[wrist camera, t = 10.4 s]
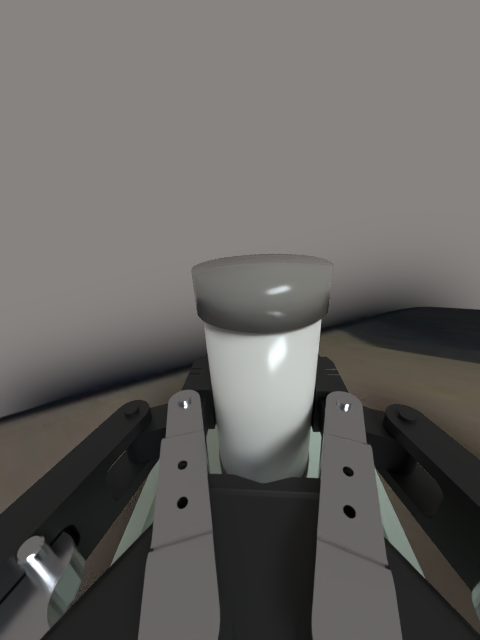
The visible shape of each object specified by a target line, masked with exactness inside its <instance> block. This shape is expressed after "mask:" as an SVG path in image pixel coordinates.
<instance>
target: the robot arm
mask: <svg viewBox="0 0 480 640" xmlns="http://www.w3.org/2000/svg"><path fill="white" fill-rule="evenodd" d="M215 426H216V418H215V409H214V401H213V393H212V385H211V377H210V369H209V361H208V353H207V355H206V357H200V358H198V359H197V360H196V361H195V362H194V364H193V366H192V368H191V370H190V373H189V375H188V377H187V379H186V381H185V384H184V386H183V388H182V390H181V391H180V392H177V393H176V394H174V395H173V396H172V397H171V398H170V399H169V402H168V404H165V405H161V406H157V407H152V408H150V407H149V404H148V403H147V402H146V401H143V400H135V401H131V402H128V403H126V404H124V405H123V406H121V407H120V408H119V409H118V410H117V411H116V412H115V413H113V414H112V415H111V416H110V417H109V418H108V419H107V420H106V421H104V422H103V423H102V424H101V425H100V426H99V427H98V428H97V429H95V430H94V431H93V432H92V433H91V434H90V435H89V436H88V437H87V438H85V439H84V440H83V441H82V442H81V443H80V444H79V445H78V446H76V447H75V448H74V449H73V450H72V451H71V452H70V453H69V454H67V455H66V456H65V457H64V458H63V459H62V460H61V461H60V462H59V463H57V464H56V465H55V466H54V467H53V468H52V469H51V470H50V471H48V472H47V473H46V474H45V475H44V476H43V477H42V478H41V479H39V480H38V481H37V482H36V483H35V484H34V485H33V486H32V487H30V488H29V489H28V490H27V491H26V492H25V493H24V494H23V495H22V496H20V497H19V498H18V499H17V500H16V501H15V502H14V503H13V504H11V505H10V506H9V507H8V508H7V509H6V510H5V511H4V512H2V513H1V514H0V640H480V635H479V634H478V633H477V632H476V631H475V630H474V629H473V628H472V626H471V625H470V624H469V623H468V622H467V621H466V620H465V619H464V618H463V617H462V616H461V615H460V614H459V613H458V612H457V611H456V610H455V609H454V608H453V607H452V606H451V605H450V604H449V603H448V602H447V601H446V600H445V599H444V598H443V597H442V595H441V594H440V593H439V592H438V591H437V590H436V589H435V588H434V587H433V586H432V585H431V584H430V583H429V582H428V581H427V580H426V579H425V578H424V577H423V576H422V575H421V574H420V573H419V572H418V571H417V570H416V569H415V568H414V567H413V566H412V564H411V563H410V562H409V561H408V560H407V559H406V558H405V557H404V556H403V555H402V554H401V553H400V552H399V551H398V550H397V549H396V548H395V547H394V546H393V545H392V544H391V543H390V542H389V541H388V540H387V539H386V538H385V537H384V534H383V526H382V519H381V512H380V504H379V497H378V489H377V482H376V474H375V467H376V469H377V470H378V472H379V473H380V474H381V475H382V477H383V478H384V479H385V481H386V482H387V483H388V484H389V486H390V487H391V488H392V490H393V491H394V492H395V493H396V495H397V496H398V497H399V499H400V500H401V501H402V502H403V504H404V505H405V506H406V508H407V509H408V510H409V511H410V513H411V514H412V515H413V517H414V518H415V519H416V520H417V522H418V523H419V524H420V526H421V527H422V528H423V529H424V531H425V532H426V533H427V535H428V536H429V537H430V538H431V540H432V541H433V542H434V544H435V545H436V546H437V547H438V549H439V550H440V551H441V553H442V554H443V555H444V557H445V558H446V559H447V560H448V562H449V563H450V564H451V566H452V567H453V568H454V569H455V571H456V572H457V573H458V575H459V576H460V577H461V578H462V580H463V581H464V582H465V584H466V585H467V586H468V587H469V589H470V590H471V591H472V602H473V605H474V609H475V611H476V614H477V616H478V618H479V620H480V460H479V459H477V458H476V457H475V456H474V455H472V454H471V453H470V452H469V451H467V450H466V449H465V448H464V447H462V446H461V445H460V444H459V443H458V442H456V441H455V440H454V439H453V438H451V437H450V436H449V435H448V434H446V433H445V432H444V431H443V430H441V429H440V428H439V427H438V426H437V425H435V424H434V423H433V422H432V421H430V420H429V419H428V418H427V417H425V416H424V415H423V414H422V413H420V412H419V411H417V410H415V409H413V408H411V407H409V406H405V405H400V404H394V405H390V406H388V407H387V408H386V411H385V412H382V411H378V410H374V409H370V408H367V407H364V406H362V403H361V402H360V400H359V399H358V398H357V397H355V396H354V395H352V394H350V393H349V392H348V390H347V388H346V387H345V385H344V383H343V381H342V379H341V377H340V375H339V373H338V371H337V370H336V367H335V365H334V363H333V362H332V361H331V360H330V359H328V358H327V357H320V356H319V354H318V360H317V370H316V381H315V391H314V402H313V412H312V423H311V426H312V430H313V432H320V434H321V437H322V438H321V446H320V458H319V470H318V478H306V477H290V478H286V479H281V480H277V481H273V482H268V483H259V482H256V481H253V480H250V479H247V478H244V477H240V476H237V475H234V474H210V466H209V457H208V448H207V439H206V437H207V433H208V429H215ZM125 450H126V452H125V453H124V454H123V455H122V456H121V457H120V459H119V460H118V461H117V462H116V463H115V464H114V465H113V466H112V468H111V469H110V470H109V468H110V466H111V465H112V464H113V463H114V462H115V461H116V460H117V459H118V457H119V456H120V455H121V454H122V453H123V452H124V451H125ZM159 458H160V459H159ZM158 460H159V470H158V480H157V491H156V501H155V512H154V522H153V523H152V524H151V525H150V526H149V527H148V528H147V529H146V530H145V531H144V532H143V533H142V534H141V535H140V536H139V537H138V538H137V539H136V540H135V541H134V543H133V544H132V545H131V546H130V547H129V548H128V549H127V550H126V551H125V552H124V553H123V554H122V555H121V556H120V557H119V558H118V559H117V560H116V561H115V562H114V563H113V564H112V565H111V566H110V567H109V568H108V569H107V570H106V571H105V572H104V573H103V575H102V576H101V577H100V578H99V579H98V580H97V581H96V582H95V583H94V584H93V585H92V586H91V587H90V588H89V589H88V590H87V591H86V592H85V593H84V594H83V595H82V596H81V597H80V598H79V599H78V600H77V601H76V602H75V603H74V604H73V606H72V607H71V608H70V609H69V610H68V611H67V609H68V607H69V606H70V605H71V604H72V602H73V601H74V599H75V598H76V595H77V593H78V588H79V586H80V584H81V581H82V579H83V576H84V572H85V561H86V559H87V558H88V557H89V555H90V554H91V553H92V551H93V550H94V548H95V547H96V546H97V544H98V543H99V542H100V540H101V539H102V537H103V536H104V535H105V533H106V532H107V531H108V529H109V528H110V526H111V525H112V524H113V522H114V521H115V520H116V518H117V517H118V515H119V514H120V513H121V511H122V510H123V508H124V507H125V506H126V504H127V503H128V502H129V500H130V499H131V497H132V496H133V495H134V493H135V492H136V491H137V489H138V488H139V486H140V485H141V484H142V482H143V481H144V480H145V478H146V477H147V475H148V474H149V473H150V471H151V470H152V469H153V467H154V466H155V464H156V463H157V462H158ZM417 462H418V463H419V464H420V465H421V466H422V467H423V468H424V469H425V470H426V471H427V472H428V473H429V474H430V475H431V476H432V477H433V478H434V479H435V480H436V481H437V483H438V484H439V485H438V484H437V483H436V482H435V481H434V480H433V479H432V478H431V477H430V476H429V475H428V474H427V473H426V472H425V471H424V470H423V469H422V468H421V467H420V466H419V465H418V464H417ZM374 465H375V467H374ZM108 470H109V471H108ZM107 471H108V472H107ZM439 486H440V487H441V488H440V487H439ZM66 611H67V612H66Z"/></svg>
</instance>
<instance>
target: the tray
mask: <svg viewBox="0 0 480 640" xmlns="http://www.w3.org/2000/svg"><path fill="white" fill-rule="evenodd" d="M321 438H322V437H321V434H320V432H313V430H312V426H311V433H310V444H309V466H308V476H307V478H318V470H319V458H320V446H321ZM206 439H207V448H208V457H209V466H210V474H221V467H220V459H219V442H218V434H217V426H215V429H208V433H207V437H206ZM159 459H160V458H159ZM158 470H159V460H158V462H157V463H156V464H155V466H154V467H153V469H152V470H151V471H150V473H149V476H148V478H147V480H146V483H145V485H144V487H143V490H142V492H141V494H140V497H139V499H138V502H137V504H136V506H135V509H134V511H133V513H132V516H131V518H130V520H129V523H128V525H127V527H126V530H125V532H124V535H123V537H122V539H121V542H120V544H119V546H118V549H117V551H116V553H115V556H114V558H113V561H112V563H111V565H112V564H113V563H114V562H115V561H116V560H117V559H118V558H119V557H120V556H121V555H122V554H123V553H124V552H125V551H126V550H127V549H128V548H129V547H130V546H131V545H132V544H133V543H134V541H135V540H136V539H137V538H138V537H139V536H140V535H141V534H142V533H143V532H144V531H145V530H146V529H147V528H148V527H149V526H150V525H151V524H152V523H153V522H154V512H155V501H156V491H157V480H158ZM375 474H376V482H377V489H378V497H379V504H380V512H381V519H382V526H383V534H384V537H385V538H386V539H387V540H388V541H389V542H390V543H391V544H392V545H393V546H394V547H395V548H396V549H397V550H398V551H399V552H400V553H401V554H402V555H403V556H404V557H405V558H406V559H407V560H408V561H409V562H410V563H411V564H412V566H413V567H414V568H415V569H416V570H417V571H418V572H419V573H420V574H421V575H422V576H423V577H424V578H425V576H424V574H423V572H422V570H421V568H420V566H419V563H418V561H417V559H416V557H415V555H414V553H413V550H412V548H411V546H410V544H409V542H408V539H407V537H406V535H405V533H404V531H403V529H402V526H401V524H400V522H399V520H398V518H397V515H396V513H395V511H394V509H393V507H392V505H391V502H390V500H389V498H388V496H387V494H386V491H385V489H384V487H383V485H382V483H381V481H380V478H379V476H378V474H377V472H376V470H375ZM111 565H110V566H111Z"/></svg>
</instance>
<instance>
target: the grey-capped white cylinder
mask: <svg viewBox="0 0 480 640" xmlns="http://www.w3.org/2000/svg"><path fill="white" fill-rule="evenodd" d="M191 271H192V279H193V286H194V294H195V301H196V309H197V314H198V316H199V317H200V318H201V319H202V320H203V321H204V327H205V336H206V344H207V352H208V361H209V369H210V377H211V385H212V393H213V401H214V409H215V418H216V426H217V434H218V442H219V459H220V467H221V474H234V475H237V476H240V477H244V478H247V479H250V480H253V481H256V482H259V483H268V482H273V481H277V480H281V479H286V478H290V477H306V478H307V476H308V466H309V444H310V433H311V423H312V412H313V402H314V391H315V381H316V370H317V360H318V349H319V339H320V328H321V319H322V318H323V317H325V315H326V314H327V312H328V308H329V299H330V290H331V280H332V271H333V264H332V262H330V261H328V260H326V259H323V258H318V257H313V256H304V255H292V254H258V255H243V256H234V257H226V258H220V259H214V260H210V261H207V262H203V263H200V264H198V265H196V266H194V267H193V268H192V270H191Z"/></svg>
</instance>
